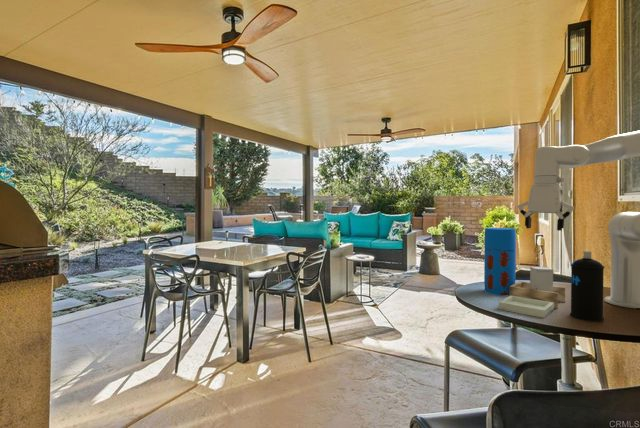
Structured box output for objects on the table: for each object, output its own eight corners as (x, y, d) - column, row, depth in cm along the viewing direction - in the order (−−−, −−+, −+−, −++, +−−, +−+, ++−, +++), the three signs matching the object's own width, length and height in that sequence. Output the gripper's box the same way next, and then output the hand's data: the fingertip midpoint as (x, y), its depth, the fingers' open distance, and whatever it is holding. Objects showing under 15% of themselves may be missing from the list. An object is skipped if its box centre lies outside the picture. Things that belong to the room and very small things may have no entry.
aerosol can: (604, 317, 105) (605, 251, 104) (603, 323, 99) (604, 254, 98) (571, 311, 110) (572, 249, 110) (568, 317, 104) (568, 251, 104)
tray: (554, 309, 112) (554, 302, 112) (544, 318, 104) (544, 310, 104) (510, 301, 122) (510, 295, 122) (498, 309, 113) (498, 302, 113)
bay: (565, 301, 122) (565, 287, 122) (557, 308, 114) (557, 293, 113) (519, 294, 132) (519, 281, 132) (509, 300, 124) (509, 286, 124)
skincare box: (533, 302, 121) (534, 268, 120) (529, 299, 125) (529, 266, 125) (553, 303, 119) (553, 269, 119) (548, 300, 123) (548, 267, 123)
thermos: (519, 296, 129) (520, 229, 129) (488, 295, 131) (489, 229, 131) (509, 289, 140) (510, 227, 139) (481, 288, 142) (481, 227, 141)
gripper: (578, 181, 120) (575, 231, 120) (523, 182, 132) (520, 227, 133) (572, 180, 115) (569, 231, 115) (516, 181, 127) (513, 227, 128)
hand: (543, 229), depth 124 cm, fingers open, 9 cm apart
